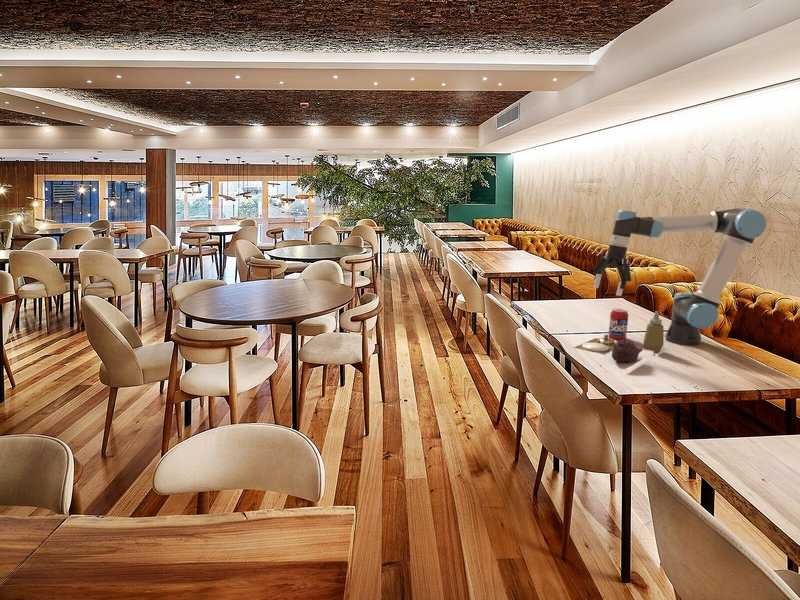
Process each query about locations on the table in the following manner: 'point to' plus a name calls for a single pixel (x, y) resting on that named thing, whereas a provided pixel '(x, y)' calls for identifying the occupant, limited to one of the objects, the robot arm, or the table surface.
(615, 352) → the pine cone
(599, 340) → the brass gear
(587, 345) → the ceramic plate
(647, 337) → the squeeze bottle
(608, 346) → the gear board
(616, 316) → the soda can
